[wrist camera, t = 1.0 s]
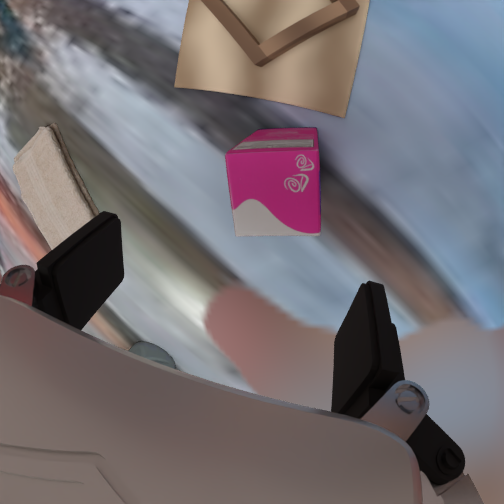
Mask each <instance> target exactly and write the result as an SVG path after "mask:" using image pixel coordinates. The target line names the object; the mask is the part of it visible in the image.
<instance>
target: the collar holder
mask: <svg viewBox="0 0 504 504" xmlns="http://www.w3.org/2000/svg"><path fill="white" fill-rule="evenodd" d="M369 1H370V0H189V3H188V8H187V13H186V18H185V24H184V29H183V34H182V40H181V46H180V52H179V59H178V65H177V72H176V79H175V87H180V88H190V89H200V90H208V91H216V92H224V93H231V94H237V95H243V96H249V97H255V98H261V99H266V100H271V101H276V102H281V103H286V104H290V105H295V106H299V107H304V108H308V109H312V110H316V111H320V112H324V113H327V114H331V115H335V116H338V117H342V118H345V114H346V110H347V106H348V102H349V98H350V93H351V89H352V85H353V80H354V76H355V71H356V67H357V62H358V58H359V53H360V48H361V43H362V38H363V33H364V28H365V23H366V18H367V12H368V7H369Z"/></svg>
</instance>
